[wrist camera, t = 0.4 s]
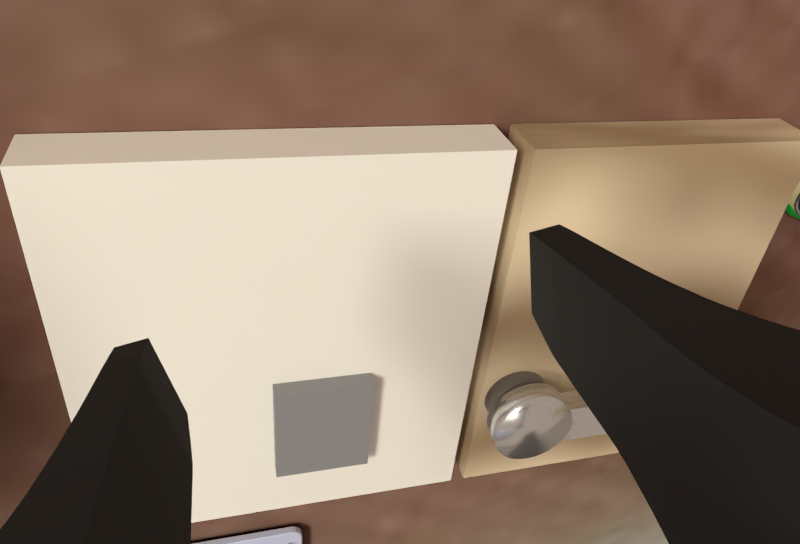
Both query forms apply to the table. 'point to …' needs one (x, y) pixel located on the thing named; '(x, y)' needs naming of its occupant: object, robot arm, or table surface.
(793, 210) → the smartphone
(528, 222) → the beige slab
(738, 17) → the table surface
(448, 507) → the table surface
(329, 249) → the door
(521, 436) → the bar
